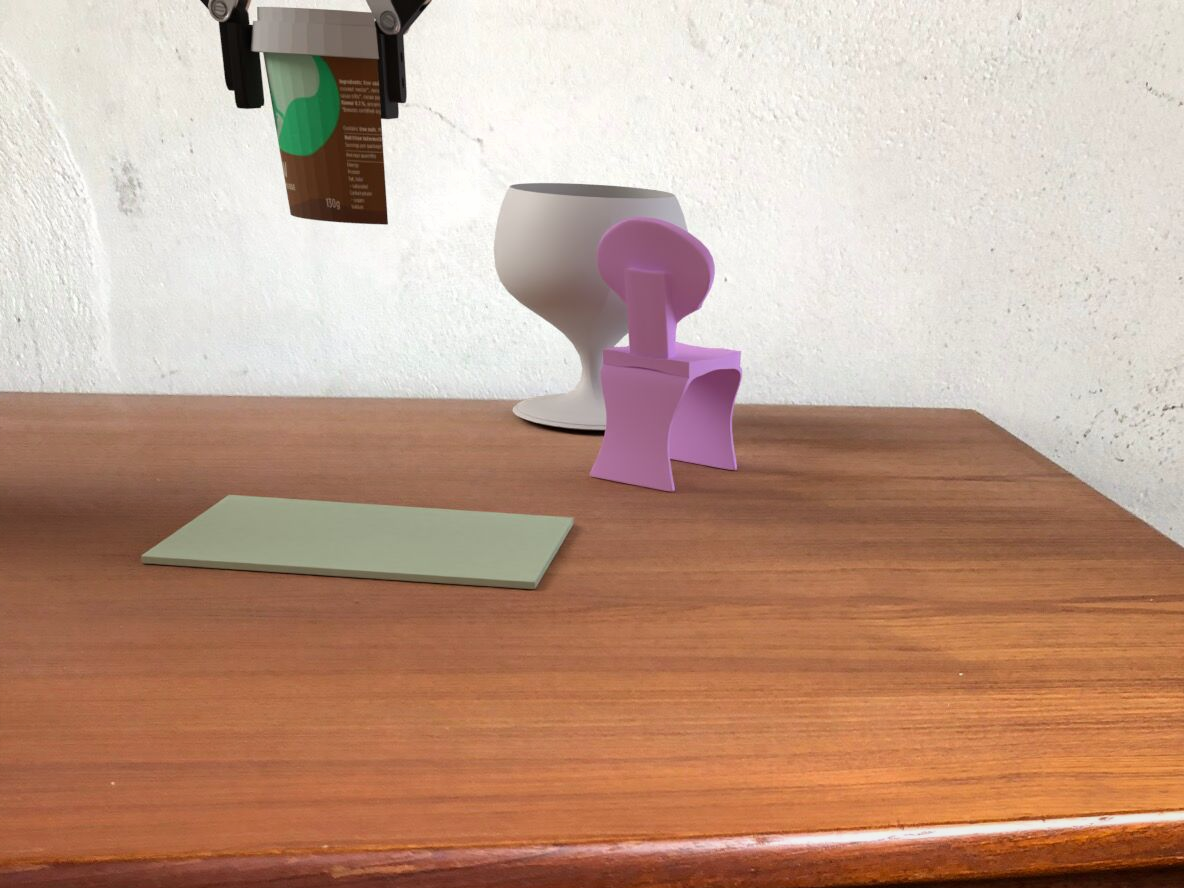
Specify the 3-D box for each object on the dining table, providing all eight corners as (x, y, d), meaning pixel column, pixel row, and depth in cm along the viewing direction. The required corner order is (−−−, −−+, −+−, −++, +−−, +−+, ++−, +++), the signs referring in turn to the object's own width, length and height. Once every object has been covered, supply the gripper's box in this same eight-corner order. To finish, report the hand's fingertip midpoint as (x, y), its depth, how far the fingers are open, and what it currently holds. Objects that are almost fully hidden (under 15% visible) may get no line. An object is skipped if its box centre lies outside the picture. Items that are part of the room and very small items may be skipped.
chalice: (703, 439, 109) (710, 203, 101) (508, 437, 106) (499, 194, 97) (670, 401, 120) (673, 186, 112) (492, 398, 117) (483, 178, 109)
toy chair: (754, 471, 101) (766, 219, 93) (685, 494, 94) (692, 225, 86) (649, 451, 104) (652, 206, 96) (576, 473, 97) (573, 212, 89)
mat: (141, 563, 76) (140, 555, 76) (229, 501, 87) (228, 494, 87) (535, 589, 76) (535, 581, 76) (573, 524, 87) (573, 517, 87)
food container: (262, 205, 92) (239, 8, 87) (365, 207, 94) (349, 15, 89) (277, 224, 82) (252, 4, 77) (391, 227, 84) (375, 12, 79)
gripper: (470, -269, 79) (483, 122, 89) (139, -295, 79) (187, 101, 88) (442, -300, 73) (459, 126, 82) (81, -328, 73) (140, 103, 82)
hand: (318, 110), depth 85 cm, fingers closed on food container, 7 cm apart
